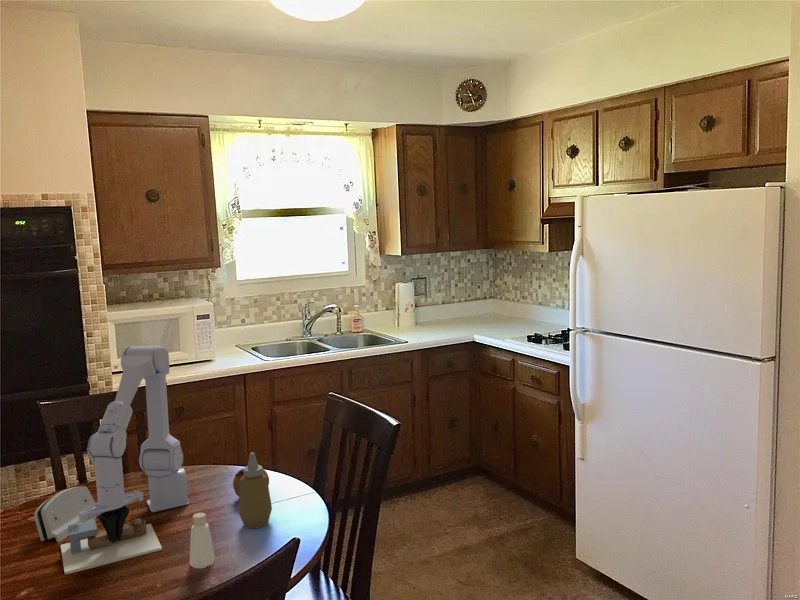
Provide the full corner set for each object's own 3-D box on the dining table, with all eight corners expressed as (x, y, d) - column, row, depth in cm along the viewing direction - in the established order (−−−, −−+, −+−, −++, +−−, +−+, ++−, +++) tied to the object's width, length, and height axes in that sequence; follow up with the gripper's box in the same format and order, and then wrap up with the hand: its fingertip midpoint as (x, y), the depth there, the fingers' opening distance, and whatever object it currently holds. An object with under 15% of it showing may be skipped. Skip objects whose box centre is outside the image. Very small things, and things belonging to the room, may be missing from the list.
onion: (243, 514, 178) (226, 487, 174) (242, 491, 187) (226, 465, 182) (276, 499, 179) (260, 472, 175) (273, 477, 188) (258, 451, 183)
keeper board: (150, 525, 166) (149, 504, 166) (162, 549, 154) (160, 526, 153) (60, 547, 156) (58, 524, 156) (64, 574, 144) (62, 550, 143)
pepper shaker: (191, 571, 144) (187, 522, 143) (188, 559, 149) (184, 512, 147) (216, 565, 146) (213, 517, 145) (213, 554, 151) (210, 507, 150)
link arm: (143, 527, 163) (142, 515, 163) (148, 532, 160) (147, 520, 160) (87, 545, 155) (86, 531, 155) (91, 550, 152) (90, 537, 152)
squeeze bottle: (279, 522, 166) (275, 452, 164) (251, 534, 160) (247, 461, 158) (260, 513, 171) (256, 445, 169) (232, 524, 165) (228, 454, 163)
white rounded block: (57, 542, 159) (42, 503, 158) (42, 547, 160) (26, 508, 160) (104, 512, 175) (90, 477, 174) (90, 517, 176) (76, 481, 176)
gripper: (129, 470, 161) (134, 524, 163) (69, 490, 150) (75, 548, 151) (146, 476, 157) (150, 531, 158) (85, 497, 146) (91, 556, 147)
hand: (114, 540), depth 155 cm, fingers closed, pressing on link arm
